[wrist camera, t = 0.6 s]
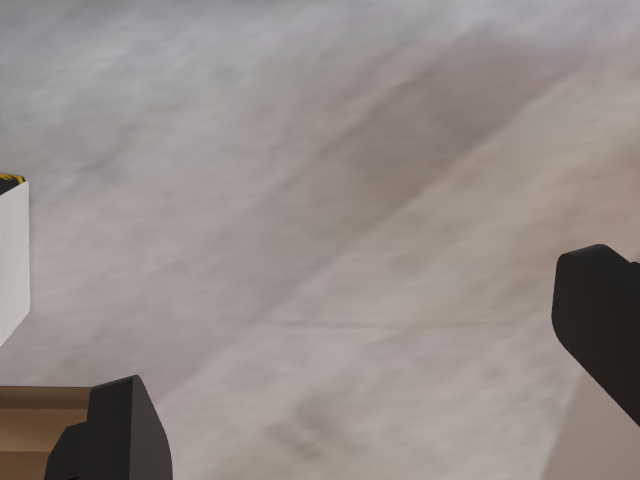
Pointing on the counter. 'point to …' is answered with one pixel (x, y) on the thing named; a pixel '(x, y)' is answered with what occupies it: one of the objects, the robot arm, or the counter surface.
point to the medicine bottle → (14, 253)
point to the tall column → (35, 426)
